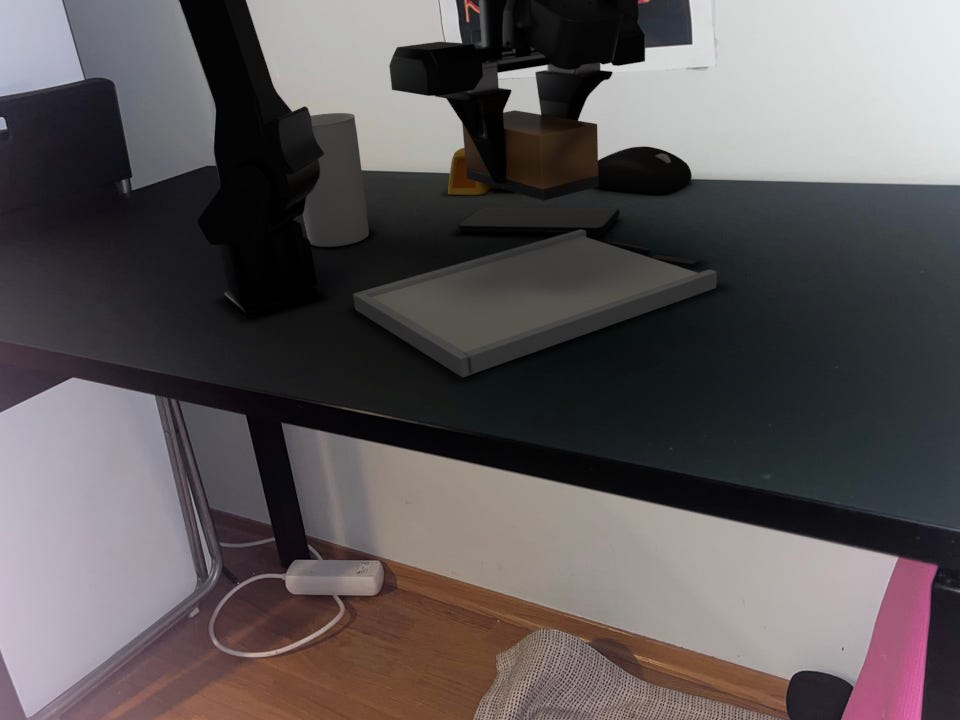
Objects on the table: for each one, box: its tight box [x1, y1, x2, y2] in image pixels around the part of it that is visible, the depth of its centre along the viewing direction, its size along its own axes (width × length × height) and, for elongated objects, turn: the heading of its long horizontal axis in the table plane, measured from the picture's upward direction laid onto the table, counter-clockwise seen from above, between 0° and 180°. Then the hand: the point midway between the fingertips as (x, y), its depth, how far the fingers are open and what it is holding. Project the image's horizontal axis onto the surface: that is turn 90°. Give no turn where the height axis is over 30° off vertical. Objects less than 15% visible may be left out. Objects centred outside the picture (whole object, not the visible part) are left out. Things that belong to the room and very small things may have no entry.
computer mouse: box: [597, 145, 693, 195], centre depth 98 cm, size 8×12×4 cm, turn 50°
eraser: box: [461, 110, 599, 202], centre depth 65 cm, size 5×10×4 cm, turn 33°
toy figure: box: [447, 147, 500, 196], centre depth 101 cm, size 5×6×12 cm
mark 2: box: [650, 253, 699, 268], centre depth 74 cm, size 1×4×1 cm, turn 49°
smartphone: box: [457, 206, 620, 237], centre depth 87 cm, size 7×1×15 cm
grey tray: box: [352, 230, 718, 379], centre depth 69 cm, size 23×17×1 cm
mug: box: [302, 112, 370, 248], centre depth 88 cm, size 10×7×12 cm, turn 59°
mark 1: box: [610, 241, 651, 258], centre depth 76 cm, size 1×4×1 cm
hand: (528, 176), depth 65 cm, fingers closed on eraser, 5 cm apart
